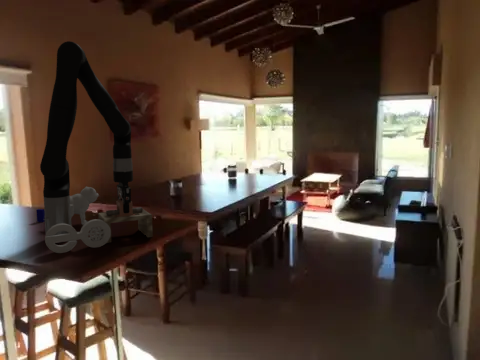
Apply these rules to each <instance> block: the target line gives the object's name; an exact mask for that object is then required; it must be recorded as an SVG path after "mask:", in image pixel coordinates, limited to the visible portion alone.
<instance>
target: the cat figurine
mask: <svg viewBox="0 0 480 360" xmlns="http://www.w3.org/2000/svg"><path fill="white" fill-rule="evenodd" d="M98 197H101V196H100V195H99V193H98V192H97V191H96V189H95V188H94V187H91V186H85V187H84V188H83V189H81V190H80V192H79V193H75V194H72V195H70V209H71V219H72V218H73V216H75V215H79V218H80V221H81V225H82V226H83V225H84V224H85V223H86V222H88V220H86V213H87V211H88V209H89V207H90V205H91V204H92V203H94V202H96V201H97V199H98ZM43 220H45V219H43ZM71 226H72V227H73V225H72V224H71Z"/></svg>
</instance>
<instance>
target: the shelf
mask: <svg viewBox="0 0 480 360" xmlns="http://www.w3.org/2000/svg"><path fill="white" fill-rule="evenodd" d="M97 214H98V219H99V220H102V221H104V222H105V223H107V224H108V225H109V227H110V229H111V230H112V225H111V224H113V223H114V224H115V223H123V222H130V221H131V222H133V221H137V225H138V226H137V227H138V231H139V232H140V231H141V232H140V233H142V234H143V235H144V236H145V235H146V236H145V237H146V238H153V236H154V235H153V233H154V232H153V214H152V213H150V212H148V211H147V210H145V209H144V208H143V207H141V206H139V207H133V215H131V216H122V217H117V215H119V214H120V213H119V210H117V209H111V210H110V209H108V210H106V211H105V212H98V213H97ZM98 227H99V226H98ZM99 228H100V227H99ZM101 231H103V229H102V230H101ZM102 235H103V234H102ZM102 235H101V236H102ZM108 243H112V235H111V236H110V238H109V240H108V242H107V243H106V244H108Z"/></svg>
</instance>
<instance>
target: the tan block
mask: <svg viewBox="0 0 480 360" xmlns="http://www.w3.org/2000/svg"><path fill="white" fill-rule="evenodd" d="M115 202H116V210H119V213H120V214H119V215H117V216H116V217H122V216H131V215H134V214H133V208H134V206H133V201H132V200H131V203H129V213H124V212H123V200H121V201H119V200H116V201H115Z"/></svg>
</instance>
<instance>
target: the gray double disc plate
mask: <svg viewBox="0 0 480 360" xmlns="http://www.w3.org/2000/svg"><path fill="white" fill-rule="evenodd" d="M99 227H100V228H99ZM102 229H103V231H101V230H102ZM59 231H67V232H68V234H60V235H55V234H56V233H57V232H59ZM102 234H103V235H102ZM49 235H53V236H49ZM101 235H102V236H101ZM110 236H111V237H112V228H111V229H110V227H109V225H108V224H107V223H105V222H104V221H102V220H99V218H97V219H96V218H95V219H90V220H87V222H86V223H85V224H84V225H82V226H81V228H80V231H77V230H76V229H75V227H73V225H72V226H70V225H68V224H65V223H61V224H56V225H54V226H52V227H51V228H50V229H49V230H48V231H47V233H46V232H45V236H44V242H45V245H46V247H47V248H48V249H49V250H50V251H51V252H54V253H56V254H63V253H68V252H70V251H71V250H73V249H74V247H75V246H76V245H77V244H78V240H81V241H82V243H83V244H84V245H86V246H87V247H90V248H100V247H102V246H104V245H106V244H108V243H107V242H108V240H109V238H110ZM64 242H66V243H64ZM56 243H64V244H61V245H60V244H59V245H58V244H56Z"/></svg>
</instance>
